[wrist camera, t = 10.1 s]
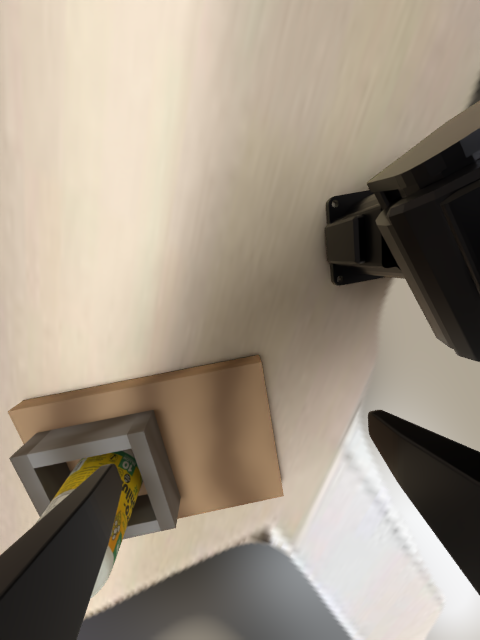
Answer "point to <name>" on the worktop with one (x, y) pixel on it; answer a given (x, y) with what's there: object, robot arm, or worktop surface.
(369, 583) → the worktop surface
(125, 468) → the supplement bottle
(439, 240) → the robot arm
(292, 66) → the worktop surface
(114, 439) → the socket board
